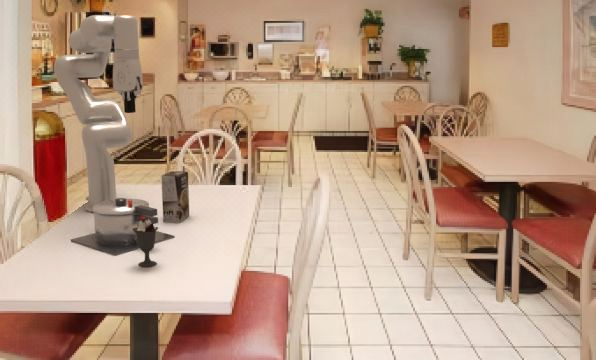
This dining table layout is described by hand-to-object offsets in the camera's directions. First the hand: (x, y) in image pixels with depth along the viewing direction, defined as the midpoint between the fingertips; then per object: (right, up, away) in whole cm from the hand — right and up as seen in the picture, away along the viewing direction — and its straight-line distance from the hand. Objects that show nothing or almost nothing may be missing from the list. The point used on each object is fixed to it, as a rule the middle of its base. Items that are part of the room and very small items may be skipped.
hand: (130, 112), depth 202 cm
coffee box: (+13, -36, +11) cm, 40 cm away
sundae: (+14, -45, -34) cm, 58 cm away
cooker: (+3, -41, -13) cm, 43 cm away
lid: (+4, -31, -16) cm, 35 cm away
